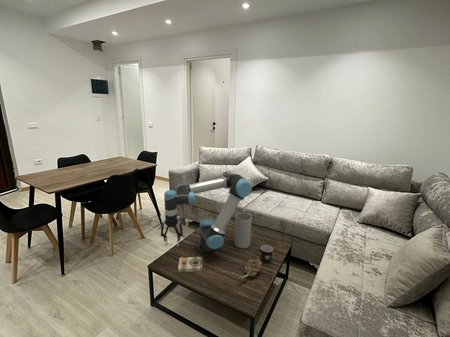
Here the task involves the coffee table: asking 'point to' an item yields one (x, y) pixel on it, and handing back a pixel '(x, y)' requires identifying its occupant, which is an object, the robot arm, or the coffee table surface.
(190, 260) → the block
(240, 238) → the cylinder vase
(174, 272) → the coffee table surface
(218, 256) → the coffee table surface
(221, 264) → the coffee table surface
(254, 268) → the dried lotus pod
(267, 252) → the coffee mug
